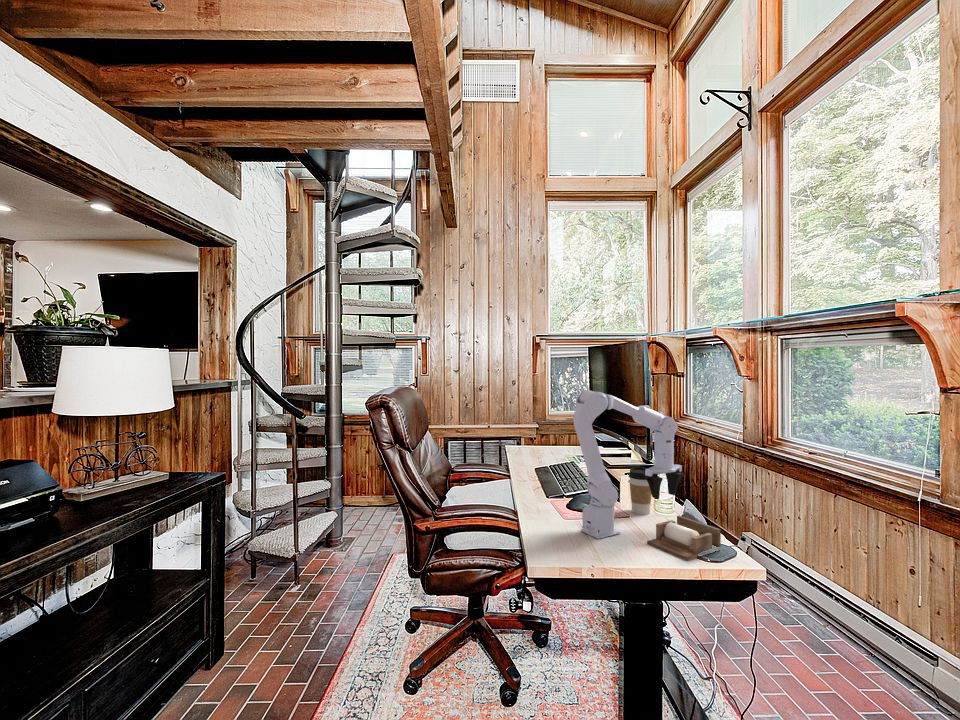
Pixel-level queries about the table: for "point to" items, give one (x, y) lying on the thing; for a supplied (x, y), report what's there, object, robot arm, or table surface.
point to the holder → (699, 543)
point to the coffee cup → (639, 491)
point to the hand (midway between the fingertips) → (663, 496)
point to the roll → (680, 533)
